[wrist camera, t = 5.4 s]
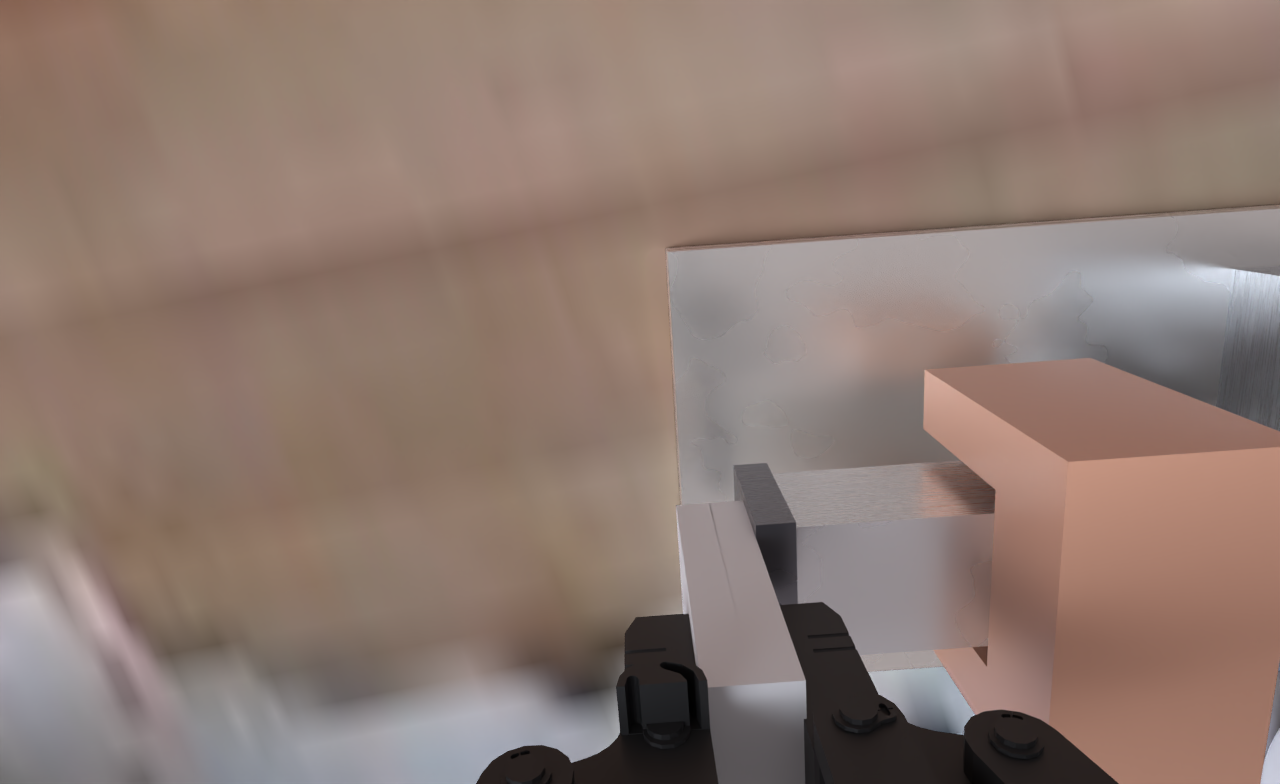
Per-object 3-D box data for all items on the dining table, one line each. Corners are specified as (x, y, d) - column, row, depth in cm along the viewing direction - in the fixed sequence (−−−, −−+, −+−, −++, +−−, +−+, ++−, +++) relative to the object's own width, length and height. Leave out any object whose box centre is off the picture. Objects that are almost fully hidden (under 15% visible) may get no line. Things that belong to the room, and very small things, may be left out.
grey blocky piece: (690, 660, 26) (737, 1017, 15) (665, 248, 22) (703, 316, 11) (1380, 612, 25) (1936, 933, 15) (1461, 191, 22) (2260, 205, 11)
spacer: (918, 627, 21) (1042, 817, 15) (924, 369, 19) (1068, 461, 13) (1069, 617, 21) (1257, 802, 15) (1090, 357, 19) (1313, 444, 13)
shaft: (738, 593, 20) (760, 676, 17) (733, 465, 19) (755, 525, 16) (1413, 546, 20) (1569, 619, 17) (1439, 415, 19) (1609, 464, 16)
